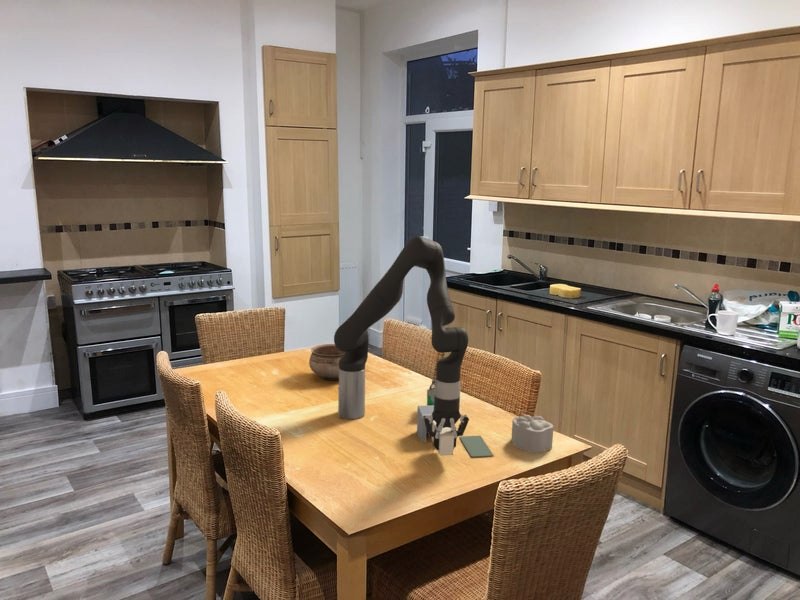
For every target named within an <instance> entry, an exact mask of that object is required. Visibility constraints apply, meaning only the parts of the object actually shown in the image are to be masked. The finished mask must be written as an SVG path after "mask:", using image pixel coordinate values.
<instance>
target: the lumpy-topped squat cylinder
mask: <svg viewBox="0 0 800 600" xmlns="http://www.w3.org/2000/svg"><path fill="white" fill-rule="evenodd" d="M511 423H512V424H511V437H510V438H511V439H510V440H511V443H512V444H513V445H514V447H516V448H518V449H520V450H523V451H526V452H528V453H531V454H542V453H544V452H546V451H548V450H552V448H553V441H554V440H553V437H554V425H553V424H552V423H551V422H548V421H546V420H545V419H544V417H542V416H540V415H536V416H531V415H529V414H524V415H522V416H521V415H518V416H515V417H514V418H512V422H511Z"/></svg>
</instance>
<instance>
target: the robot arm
mask: <svg viewBox="0 0 800 600" xmlns="http://www.w3.org/2000/svg"><path fill="white" fill-rule="evenodd" d="M443 251H444V250H443V248H442V246H441V245H440V243H438V242H436V241H435V240H433V239H432V240H431V239H429V238H426V237H423V236H417V235H416V236H413V237H411V238H410V239H409V241H407V243H406V244H405V245H404V246H403V248H402V249H401V251H400V253H399V254H398V256H397V257H396V258H395V260H394V261H393V263H392V264H391V266H390V267H389V268H388V270H387V271H386V272H385V274H384V275H383V276H382V277H381V279H379V281H378V282H377V283H376V284H375V285H374V287H373V288H371V290H370V292H369V293H368V294H367V295H366V297H365V298H364V299H363V300H362V301H361V303H360V304H359V305H358V306H357V308H356V309H355V310H354V312H353V313H352V314H350V316H349V317H348V318H347V319H346V320H345V321H344V322H343V323H342V324H340V326H338V328H337V329H336V330H335V333H334V335H333V344H335V346H336V347H337V348H338V349H339V350H341V351H345V354H344V355H343V357H342V358H341V359H340V361H339V379H338V387H337V388H338V391H337V392H338V393H337V394H338V396H337V397H338V399H337V400H338V402H337V403H338V404H337V405H338V406H337V409H338V411H337V412H338V418H339V419H345V420H356V419H360V418H363V417H364V416H365V415H366V414H365V413H366V408H365V407H366V363H367V361H368V356H369V355H368V354H369V343H370V342H369V339H370V338H369V332H368V329H369V328H370V327H372V326H374V324H375V323H377V322H378V321H380V320H381V319H383V318H384V317H386V316H387V315H388V314H389V313H390V312H391V311H392V310H393V309H394V308H395V307H396V306H397V304H398V303H399V302H400V300H401V298H402V296H403V292H404V281H405V278H406V276H408V274H409V272H411V270H412V269H413V268H414V267H418V268H421V269H424V270H426V272H427V273H428V276H429V278H430V279H429V280H430V284H429V287H428V290H427V294H426V304H427V307H428V311H429V315H430V318H431V345H432V349H434V350H435V351H436V352H437V353H450V354H449V355H448V356H445V357H443V358H440V359H438V360H437V362H436V366H435V367H436V371H435V372H436V373H435V380H436V382H435V389H434V411H433V413H432V415H430V416H424V417H423V419H424V422H425V425H426V429H427V432H426V433H427V434H428V436H429V437H430V438H432V437H434V440H432V445H433V447H434V449H435V450H436V451H437V450H439V435H440V432H441V431H442V428H445V427H448V428H450V430H451V431H452V434H453V435H454V447H453V450H455V448H456V447H457V438H458V437H460V436H464V434H465V431H466V429H467V426H468V423H469V421H470V419H469V416H468V415H467V414H461V413H460V407H461V406H460V402H461V369H462V363H463V361H464V357H465V354H466V353H467V350H468V349H467V348H468V345H469V334H468V332H467V331H466V329H465V328H464V327H463V326H462V327H461V326H453V327H445V326H447V325H450V324H451V323H453V322H454V321H455V319H456V315H455V310H454V306H453V304H452V301H451V298H450V293H449V289H448V283H447V276H446V265H445V258H444V256H445V255H444V252H443ZM432 419H434V420H435V422H436V425H435V430H434V431H432V429H431V426H430V423H431V422H432ZM458 421H460V423H459V425H458V428H456V424H457V422H458Z"/></svg>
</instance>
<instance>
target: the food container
mask: <svg viewBox="0 0 800 600" xmlns="http://www.w3.org/2000/svg"><path fill="white" fill-rule="evenodd" d="M435 382H436V379H431V384H430V385H429V387H428V388H429V389H426V405H434V389H435Z"/></svg>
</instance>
